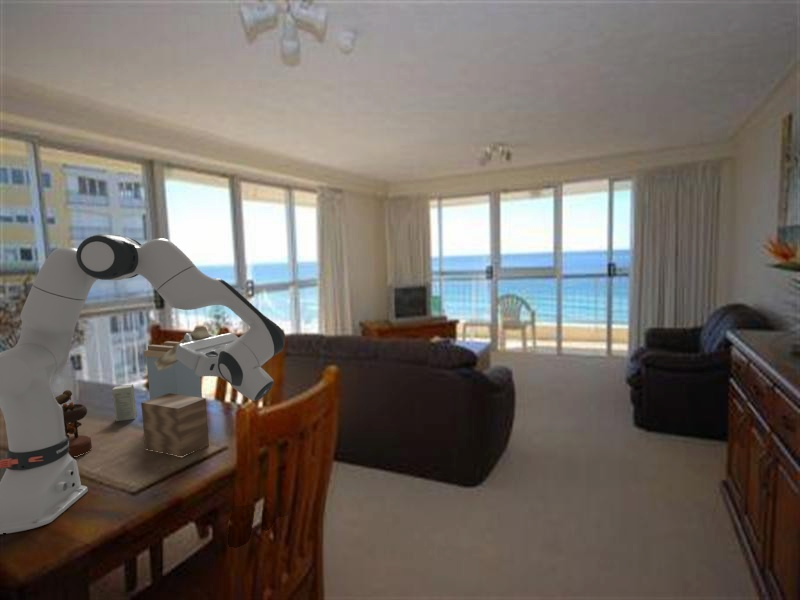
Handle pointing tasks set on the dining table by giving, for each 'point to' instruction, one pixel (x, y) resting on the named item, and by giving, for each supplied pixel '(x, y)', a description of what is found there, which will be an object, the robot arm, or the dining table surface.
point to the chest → (170, 375)
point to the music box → (74, 424)
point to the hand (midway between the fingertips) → (193, 334)
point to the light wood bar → (169, 356)
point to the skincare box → (124, 402)
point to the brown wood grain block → (175, 424)
